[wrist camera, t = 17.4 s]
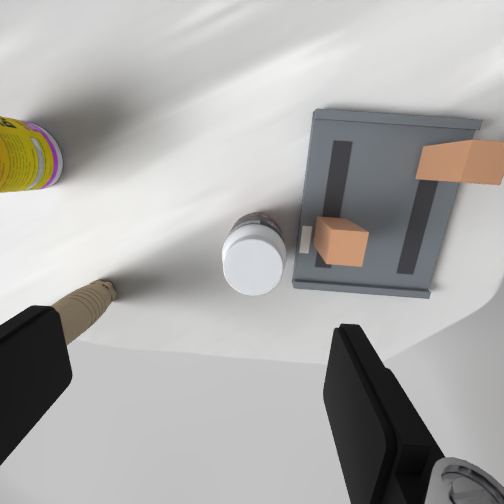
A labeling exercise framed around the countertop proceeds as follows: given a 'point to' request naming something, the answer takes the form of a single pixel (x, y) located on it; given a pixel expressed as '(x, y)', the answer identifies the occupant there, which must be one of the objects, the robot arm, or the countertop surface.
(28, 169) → the supplement bottle
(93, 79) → the countertop surface
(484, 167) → the tab
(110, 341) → the countertop surface
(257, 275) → the pill bottle
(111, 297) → the handle
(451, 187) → the grey tray
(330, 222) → the orange rectangular block
